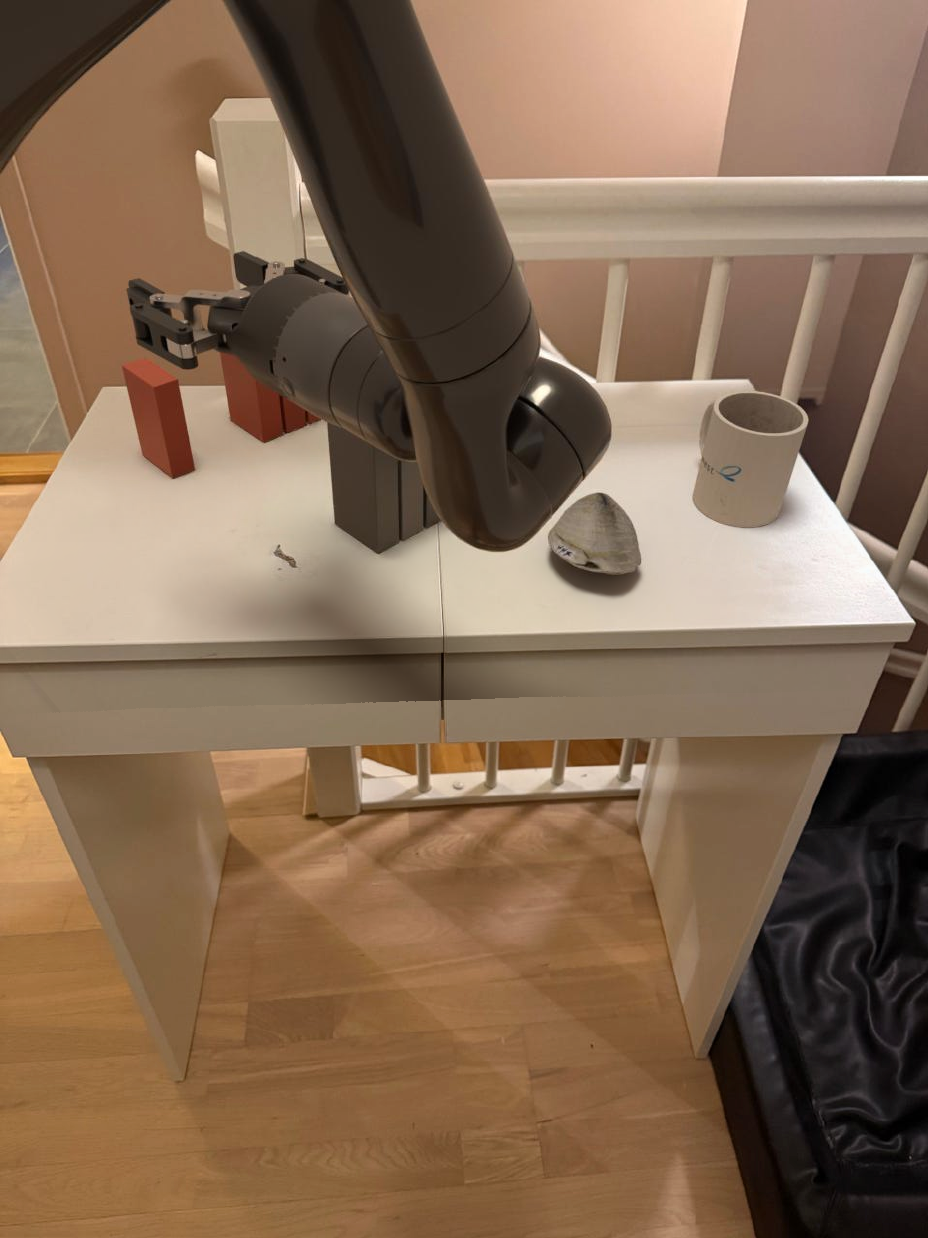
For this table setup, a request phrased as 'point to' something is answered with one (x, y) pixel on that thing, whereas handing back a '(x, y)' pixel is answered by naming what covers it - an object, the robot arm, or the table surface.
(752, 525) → the mug
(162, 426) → the red book
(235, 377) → the red books
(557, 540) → the seashell
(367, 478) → the grey books
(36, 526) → the table surface
